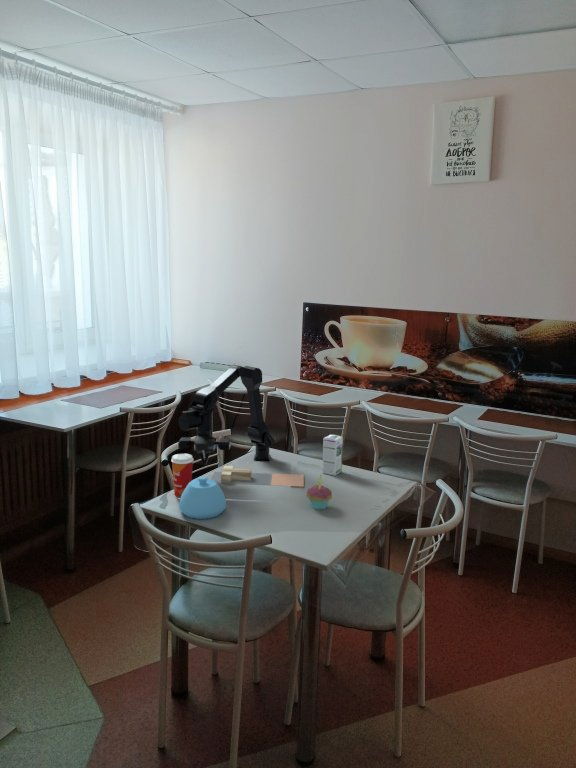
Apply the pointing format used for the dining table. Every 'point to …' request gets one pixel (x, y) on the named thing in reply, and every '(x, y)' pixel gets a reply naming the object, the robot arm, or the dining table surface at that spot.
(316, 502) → the cupcake
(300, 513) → the dining table surface
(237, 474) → the t block
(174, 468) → the paper cup
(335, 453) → the syrup box
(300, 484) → the push board
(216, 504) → the blue dome lid
